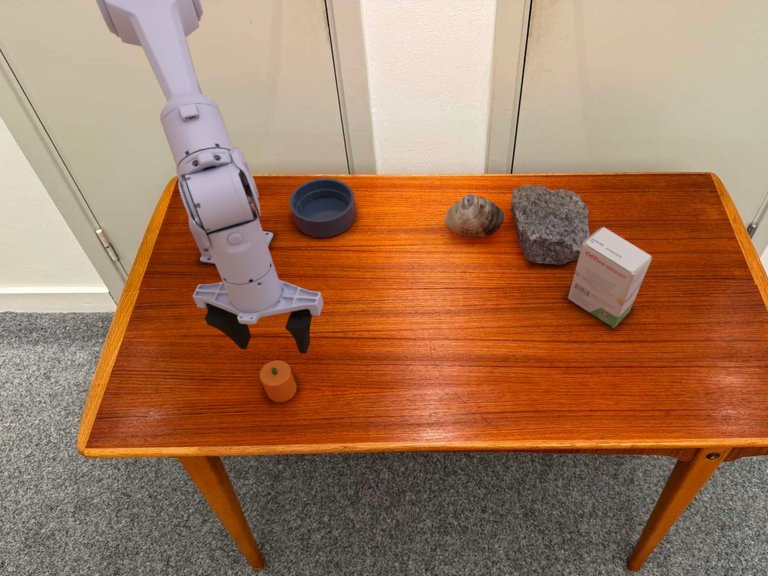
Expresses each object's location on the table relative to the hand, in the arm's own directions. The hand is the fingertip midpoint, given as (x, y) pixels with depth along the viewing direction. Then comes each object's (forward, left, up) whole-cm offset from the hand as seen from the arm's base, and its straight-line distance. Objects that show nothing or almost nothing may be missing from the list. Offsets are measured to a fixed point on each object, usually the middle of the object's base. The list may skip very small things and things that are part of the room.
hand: (275, 345), depth 78 cm
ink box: (+41, +22, -10) cm, 48 cm away
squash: (-1, -1, -10) cm, 10 cm away
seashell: (+20, +33, -10) cm, 40 cm away
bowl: (-5, +33, -10) cm, 34 cm away
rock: (+32, +35, -10) cm, 49 cm away
